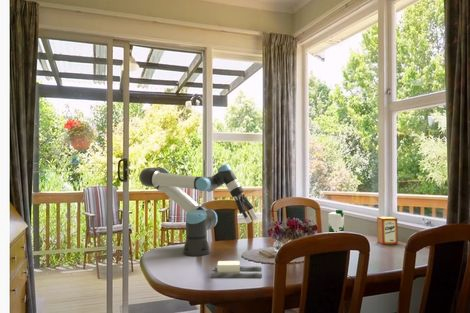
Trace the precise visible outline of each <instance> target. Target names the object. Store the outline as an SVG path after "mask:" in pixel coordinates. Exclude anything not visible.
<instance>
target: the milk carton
mask: <svg viewBox="0 0 470 313" xmlns="http://www.w3.org/2000/svg"><path fill="white" fill-rule="evenodd" d="M327 217H328V233H329V232H337V231H344V232H345V212H343V209H335V211H332V212H329V213H327Z"/></svg>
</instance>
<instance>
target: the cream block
mask: <svg viewBox="0 0 470 313" xmlns="http://www.w3.org/2000/svg"><path fill="white" fill-rule="evenodd" d="M240 263H241V262H240V260H218V261H217V265H216V266H217V270H218V271H217V273H241V271H240V265H241V264H240Z"/></svg>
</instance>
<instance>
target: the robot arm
mask: <svg viewBox="0 0 470 313" xmlns="http://www.w3.org/2000/svg"><path fill="white" fill-rule="evenodd" d="M139 182H140V183H141V184H142V185H143V186H145V187H147V188H148V187H149V188H151V187H154V188H155V189H156V190H158V192H163V193H164V194H165V195H166V196H167V197H169V198H170V199H171V200H172V201H173V202H174V203H176V205H178V206H179V207H180V208H181V209H182V210H183V211H184V212H185V213H186V215H185V242H184V245H183V248H182V254H183V255H184V254H185V255H184V256H190V257H200V256H206V255H208V254H210V253H211V248H210V245H209V242H208V238H207V236H208V234H207V231H209V230H212V229H213V228H214V227H216V225H217V223H218V214H217V212H216V211H215V210H213V209H211V208H207V207H206V206H205V205H204V204H199V203H198V202H197V201H195V199H194V198H192V196H190V195H189V194H188V193H187V192H186V191H184V190H183V189H188V190H197V191H200V192H207V193H211V192H213V191H215V190H216V189H218V188H219V187H220V186H222V185H224V184H225V187H227V188H226V189H227V190H228V191H229V193H230V196H231V197H232V198H234V201H235V204H236V206H237V209H238V212H239V214H240V215H242V217H243V218H244V220H245V221H246V223H247V225H248V224H251V223H252V222H253V221H255V220H257V219H259V217H258V216H257V214H256V212H255V210H254V205H252V204H251V202H250V200H249V199H248V198H247V197H246V194H244V189H243V187H242V186H241V184H240V180H238V178H237V176H236V175H235V172H234V171H233V168H231V166H230V164H228V163H224V164H222V165H220V166H219V167H217V173H215V174H214V175H212V176H197V175H195V176H194V175H187V174H186V175H185V174H177V173H170V172H169V171H168V169H166V168H164V167H159V166H157V167H146V168H144V169H142V170H141V171H140V173H139ZM246 209H247V210H248V211H247V210H246ZM248 212H249V214H248ZM252 220H253V221H252Z"/></svg>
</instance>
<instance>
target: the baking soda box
mask: <svg viewBox="0 0 470 313" xmlns="http://www.w3.org/2000/svg"><path fill="white" fill-rule="evenodd" d="M376 220H377V221H376V224H377V225H376V230H377V231H376V232H377V243H378V244H381V245H398V244H399V241H398V237H399V236H398V218H396V217H394V216H377V217H376Z"/></svg>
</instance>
